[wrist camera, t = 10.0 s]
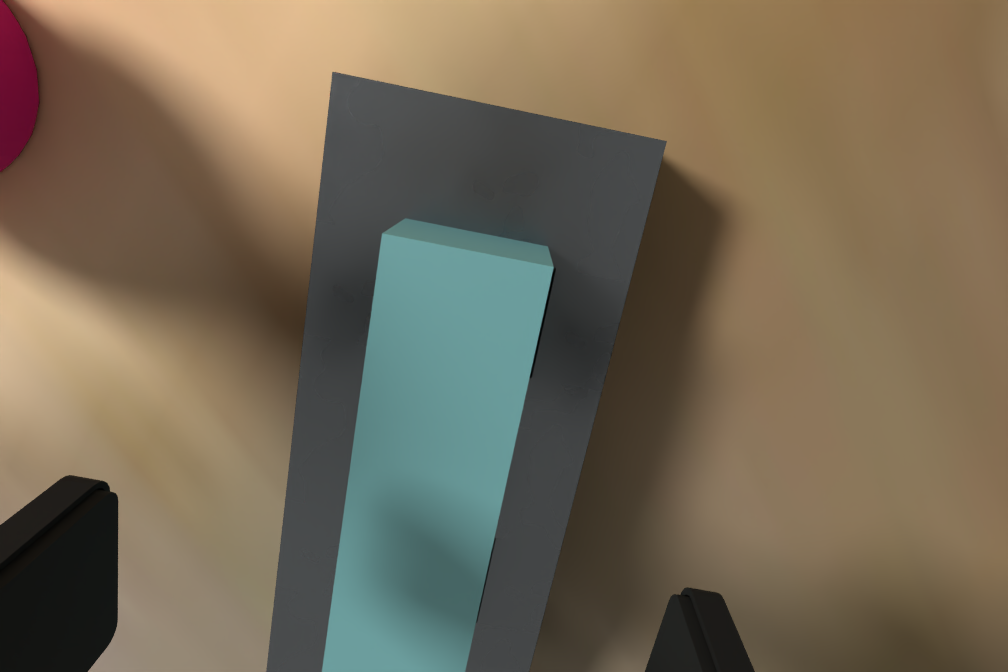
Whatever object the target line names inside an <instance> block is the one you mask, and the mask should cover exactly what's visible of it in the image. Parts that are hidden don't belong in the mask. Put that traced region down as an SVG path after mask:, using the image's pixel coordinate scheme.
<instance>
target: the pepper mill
mask: <svg viewBox="0 0 1008 672" xmlns="http://www.w3.org/2000/svg"><path fill="white" fill-rule="evenodd" d="M38 106H39V93H38V80H37V69H36V66H35V63H34V60H33V57H32V53H31V50H30V47H29V44H28V41H27V38H26V36H25V34H24V32H23V30H22V29H21V27H20V25H19V23H18V22H17V20H16V19H15V17H14V16H13V14H12V12H11V11H10V9H9V8H8V7H7V5H6V4H5V3H4V2H3V0H0V172H1V171H2V170H4V169H5V168H6V167H7V166H9V165H10V164H11V163H12V162H13V161H14V160H15V159H16V158H17V157H18V156H19V154H20V153H21V151H22V149H23V148H24V146H25V145H26V143H27V142H28V140H29V138H30V136H31V135H32V132H33V128H34V125H35V121H36V116H37V111H38Z"/></svg>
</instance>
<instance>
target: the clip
mask: <svg viewBox="0 0 1008 672" xmlns="http://www.w3.org/2000/svg"><path fill="white" fill-rule="evenodd" d="M553 268H554V266H553V263H552V259H551V256H550V252H549V249H548V246H543V245H538V244H533V243H528V242H523V241H518V240H513V239H508V238H503V237H498V236H492V235H487V234H482V233H477V232H472V231H467V230H462V229H457V228H452V227H447V226H442V225H437V224H432V223H427V222H422V221H416V220H411V219H406V218H405V219H404V220H402V221H401V222H399V223H397V224H396V225H394V226H393V227H391V228H390V229H388V230H387V231H385V232H383V233H382V238H381V245H380V253H379V260H378V267H377V274H376V282H375V289H374V296H373V304H372V311H371V318H370V325H369V333H368V340H367V347H366V354H365V362H364V369H363V376H362V384H361V391H360V398H359V405H358V413H357V420H356V427H355V434H354V442H353V449H352V456H351V464H350V471H349V478H348V485H347V493H346V500H345V507H344V514H343V522H342V529H341V536H340V544H339V551H338V558H337V565H336V573H335V580H334V587H333V594H332V602H331V609H330V616H329V624H328V631H327V638H326V645H325V653H324V660H323V667H322V672H465V670H466V666H467V661H468V656H469V652H470V647H471V643H472V638H473V634H474V629H475V624H476V620H477V615H478V611H479V606H480V602H481V597H482V592H483V588H484V583H485V579H486V574H487V570H488V565H489V560H490V556H491V551H492V547H493V542H494V538H495V533H496V528H497V524H498V519H499V515H500V510H501V506H502V501H503V496H504V492H505V487H506V483H507V478H508V474H509V469H510V464H511V460H512V455H513V451H514V446H515V442H516V437H517V432H518V428H519V423H520V419H521V414H522V410H523V405H524V400H525V396H526V391H527V387H528V382H529V378H530V373H531V368H532V364H533V359H534V355H535V350H536V346H537V341H538V336H539V332H540V327H541V323H542V318H543V314H544V309H545V304H546V300H547V295H548V291H549V286H550V282H551V277H552V272H553Z"/></svg>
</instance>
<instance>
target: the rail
mask: <svg viewBox="0 0 1008 672" xmlns="http://www.w3.org/2000/svg"><path fill="white" fill-rule="evenodd" d="M666 142H667V141H663V140H658V139H654V138H649V137H644V136H639V135H634V134H630V133H625V132H620V131H615V130H610V129H605V128H601V127H596V126H591V125H586V124H581V123H577V122H572V121H567V120H562V119H557V118H553V117H548V116H543V115H538V114H533V113H528V112H524V111H519V110H514V109H509V108H504V107H500V106H495V105H490V104H485V103H480V102H476V101H471V100H466V99H461V98H456V97H452V96H447V95H442V94H437V93H432V92H427V91H423V90H418V89H413V88H408V87H403V86H399V85H394V84H389V83H384V82H379V81H375V80H370V79H365V78H360V77H355V76H350V75H346V74H341V73H336V72H333V73H332V82H331V91H330V100H329V109H328V118H327V128H326V137H325V146H324V155H323V164H322V173H321V182H320V191H319V200H318V209H317V218H316V227H315V236H314V245H313V254H312V263H311V272H310V282H309V291H308V300H307V309H306V318H305V327H304V336H303V345H302V354H301V363H300V372H299V381H298V390H297V399H296V408H295V417H294V426H293V436H292V445H291V454H290V463H289V472H288V481H287V490H286V499H285V508H284V517H283V526H282V535H281V544H280V553H279V562H278V571H277V580H276V589H275V599H274V608H273V617H272V626H271V635H270V644H269V653H268V662H267V671H266V672H322V667H323V660H324V653H325V645H326V638H327V631H328V624H329V616H330V609H331V602H332V594H333V587H334V580H335V573H336V565H337V558H338V551H339V544H340V536H341V529H342V522H343V514H344V507H345V500H346V493H347V485H348V478H349V471H350V464H351V456H352V449H353V442H354V434H355V427H356V420H357V413H358V405H359V398H360V391H361V384H362V376H363V369H364V362H365V354H366V347H367V340H368V333H369V325H370V318H371V311H372V304H373V296H374V289H375V282H376V274H377V267H378V260H379V253H380V245H381V238H382V233H383V232H385V231H387V230H388V229H390V228H391V227H393V226H394V225H396V224H397V223H399V222H401V221H402V220H404V219H405V218H406V219H411V220H416V221H422V222H427V223H432V224H437V225H442V226H447V227H452V228H457V229H462V230H467V231H472V232H477V233H482V234H487V235H492V236H498V237H503V238H508V239H513V240H518V241H523V242H528V243H533V244H538V245H543V246H548V249H549V252H550V256H551V259H552V263H553V266H554V268H553V272H552V277H551V282H550V286H549V291H548V295H547V300H546V304H545V309H544V314H543V318H542V323H541V327H540V332H539V336H538V341H537V346H536V350H535V355H534V359H533V364H532V368H531V373H530V378H529V382H528V387H527V391H526V396H525V400H524V405H523V410H522V414H521V419H520V423H519V428H518V432H517V437H516V442H515V446H514V451H513V455H512V460H511V464H510V469H509V474H508V478H507V483H506V487H505V492H504V496H503V501H502V506H501V510H500V515H499V519H498V524H497V528H496V533H495V538H494V542H493V547H492V551H491V556H490V560H489V565H488V570H487V574H486V579H485V583H484V588H483V592H482V597H481V602H480V606H479V611H478V615H477V620H476V624H475V629H474V634H473V638H472V643H471V647H470V652H469V656H468V661H467V666H466V670H465V672H529V670H530V666H531V662H532V658H533V654H534V651H535V647H536V643H537V639H538V635H539V631H540V628H541V624H542V620H543V616H544V612H545V608H546V604H547V601H548V597H549V593H550V589H551V585H552V581H553V577H554V574H555V570H556V566H557V562H558V558H559V554H560V550H561V547H562V543H563V539H564V535H565V531H566V527H567V523H568V520H569V516H570V512H571V508H572V504H573V500H574V496H575V493H576V489H577V485H578V481H579V477H580V473H581V469H582V466H583V462H584V458H585V454H586V450H587V446H588V443H589V439H590V435H591V431H592V427H593V423H594V419H595V416H596V412H597V408H598V404H599V400H600V396H601V392H602V389H603V385H604V381H605V377H606V373H607V369H608V365H609V362H610V358H611V354H612V350H613V346H614V342H615V338H616V335H617V331H618V327H619V323H620V319H621V315H622V311H623V308H624V304H625V300H626V296H627V292H628V288H629V284H630V281H631V277H632V273H633V269H634V265H635V261H636V258H637V254H638V250H639V246H640V242H641V238H642V234H643V231H644V227H645V223H646V219H647V215H648V211H649V207H650V204H651V200H652V196H653V192H654V188H655V184H656V180H657V177H658V173H659V169H660V165H661V161H662V157H663V153H664V150H665V146H666Z"/></svg>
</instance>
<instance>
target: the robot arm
mask: <svg viewBox="0 0 1008 672" xmlns="http://www.w3.org/2000/svg"><path fill="white" fill-rule="evenodd" d="M117 620H118V497H117V495H116V493H114V492H110V487H109V485H108V484H107V483H106V482H104V481H100V480H94V479H89V478H83V477H78V476H72V475H69V476H65V477H63V478H62V479H60V480H59V481H57V482H56V483H55V484H53V485H52V486H51V487H50V488H48V489H47V490H46V491H44V492H43V493H42V494H40V495H39V496H38V497H37V498H35V499H34V500H33V501H31V502H30V503H29V504H27V505H26V506H25V507H23V508H22V509H21V510H20V511H18V512H17V513H16V514H14V515H13V516H12V517H10V518H9V519H8V520H7V521H5V522H4V523H3V524H1V525H0V672H88V670H89V669H90V668H91V667H92V665H93V664H94V663H95V662H96V660H97V659H98V658H99V657H100V655H101V654H102V653H103V652H104V650H105V649H106V648H107V646H108V645H109V643H110V642H111V640H112V638H113V636H114V633H115V631H116V627H117ZM645 672H755V671H754V669H753V666H752V664H751V662H750V659H749V657H748V655H747V652H746V650H745V648H744V645H743V643H742V641H741V638H740V636H739V634H738V631H737V629H736V627H735V624H734V622H733V620H732V617H731V615H730V613H729V610H728V608H727V606H726V603H725V601H724V599H723V597H722V596H721V595H720V594H719V593H715V592H710V591H704V590H699V589H693V588H684V590H683V591H682V592H681V595H676V594H674V595H672V596H671V598H670V600H669V603H668V605H667V608H666V611H665V614H664V617H663V620H662V623H661V626H660V629H659V632H658V635H657V638H656V641H655V644H654V647H653V649H652V652H651V655H650V658H649V661H648V664H647V667H646V670H645Z"/></svg>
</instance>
